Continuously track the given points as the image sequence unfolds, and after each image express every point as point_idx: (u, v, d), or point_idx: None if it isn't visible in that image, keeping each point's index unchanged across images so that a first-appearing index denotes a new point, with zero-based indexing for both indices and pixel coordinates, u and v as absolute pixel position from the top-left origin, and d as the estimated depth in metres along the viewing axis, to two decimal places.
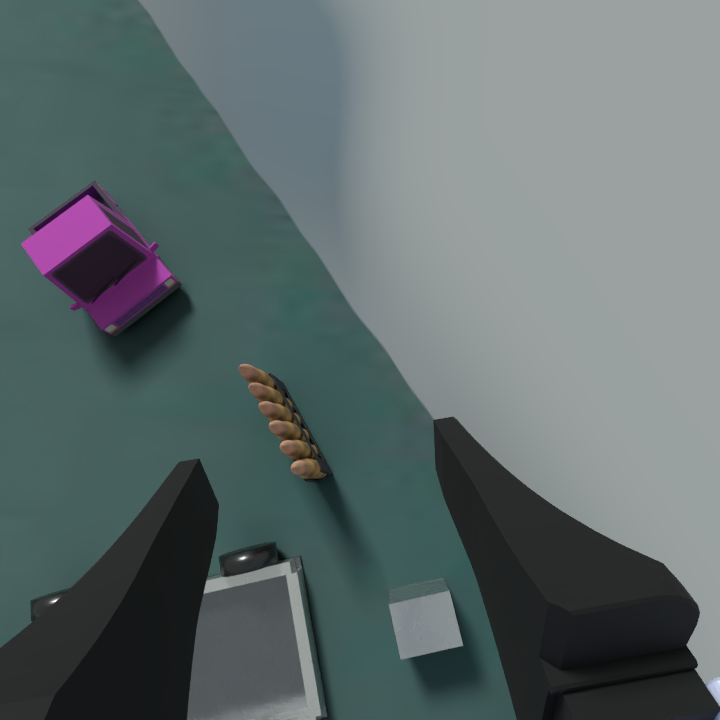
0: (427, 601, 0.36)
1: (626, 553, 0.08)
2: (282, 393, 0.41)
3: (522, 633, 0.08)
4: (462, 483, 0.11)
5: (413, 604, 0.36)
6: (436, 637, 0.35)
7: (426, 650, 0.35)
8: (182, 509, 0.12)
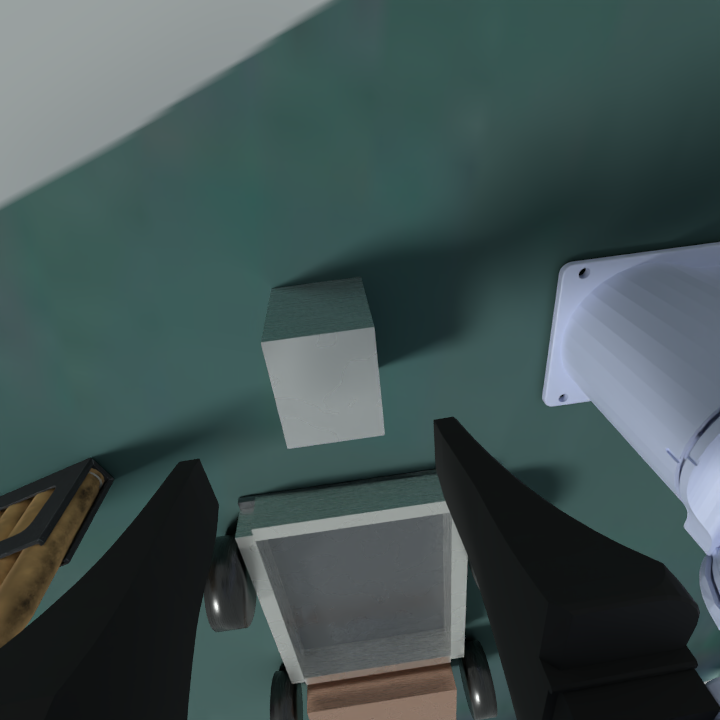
0: (283, 385, 0.17)
1: (626, 553, 0.08)
2: None
3: (522, 633, 0.08)
4: (462, 483, 0.11)
5: (288, 410, 0.17)
6: (352, 375, 0.17)
7: (374, 394, 0.17)
8: (182, 509, 0.12)
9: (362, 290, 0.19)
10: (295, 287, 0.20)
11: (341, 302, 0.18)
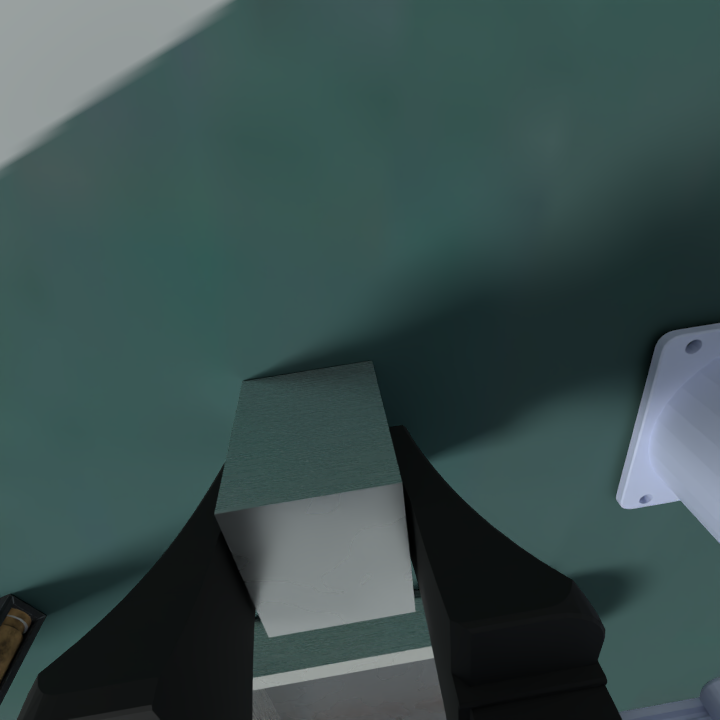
0: (256, 565, 0.10)
1: (539, 568, 0.08)
2: None
3: (442, 647, 0.08)
4: None
5: (267, 594, 0.11)
6: (366, 546, 0.10)
7: (401, 566, 0.11)
8: None
9: (376, 391, 0.12)
10: (277, 381, 0.13)
11: (345, 418, 0.12)
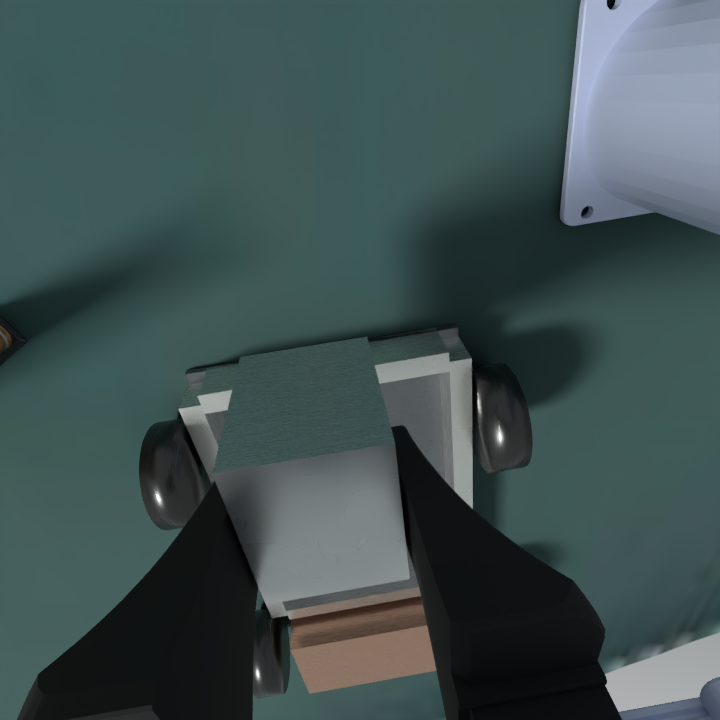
0: (253, 528, 0.11)
1: (539, 568, 0.08)
2: None
3: (442, 647, 0.08)
4: (402, 493, 0.11)
5: (263, 558, 0.11)
6: (360, 509, 0.11)
7: (395, 530, 0.11)
8: None
9: (371, 363, 0.13)
10: (274, 356, 0.14)
11: (340, 388, 0.12)
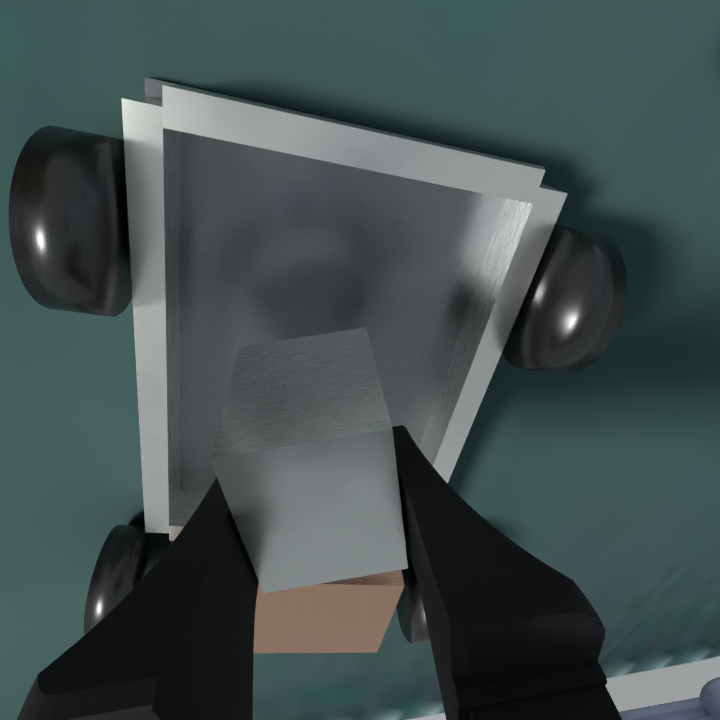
0: (250, 515, 0.11)
1: (539, 568, 0.08)
2: None
3: (442, 647, 0.08)
4: (402, 493, 0.11)
5: (261, 546, 0.11)
6: (358, 496, 0.11)
7: (393, 518, 0.11)
8: None
9: (369, 353, 0.13)
10: (273, 346, 0.14)
11: (338, 377, 0.12)
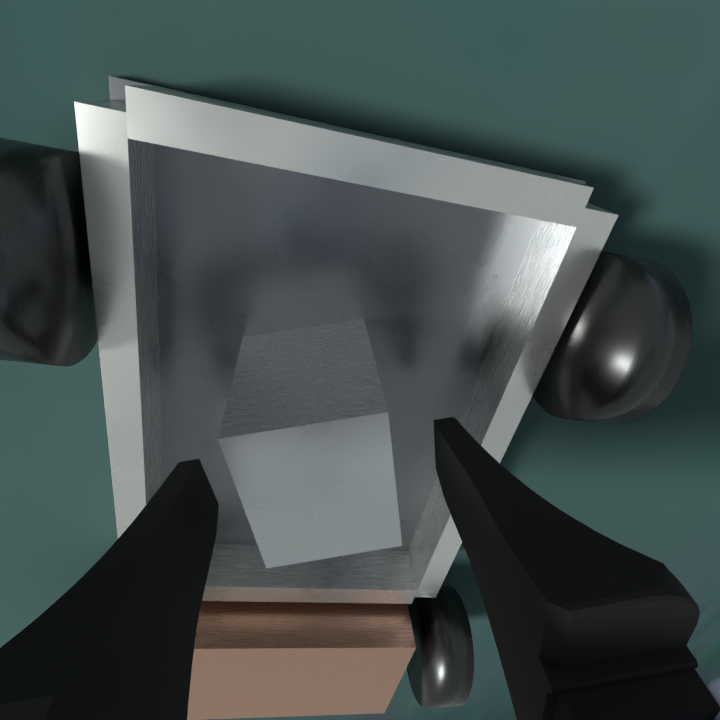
0: (255, 493, 0.11)
1: (626, 553, 0.08)
2: None
3: (522, 633, 0.08)
4: (462, 483, 0.11)
5: (264, 522, 0.12)
6: (356, 475, 0.11)
7: (388, 497, 0.12)
8: (183, 509, 0.12)
9: (367, 343, 0.13)
10: (275, 336, 0.14)
11: (338, 364, 0.13)
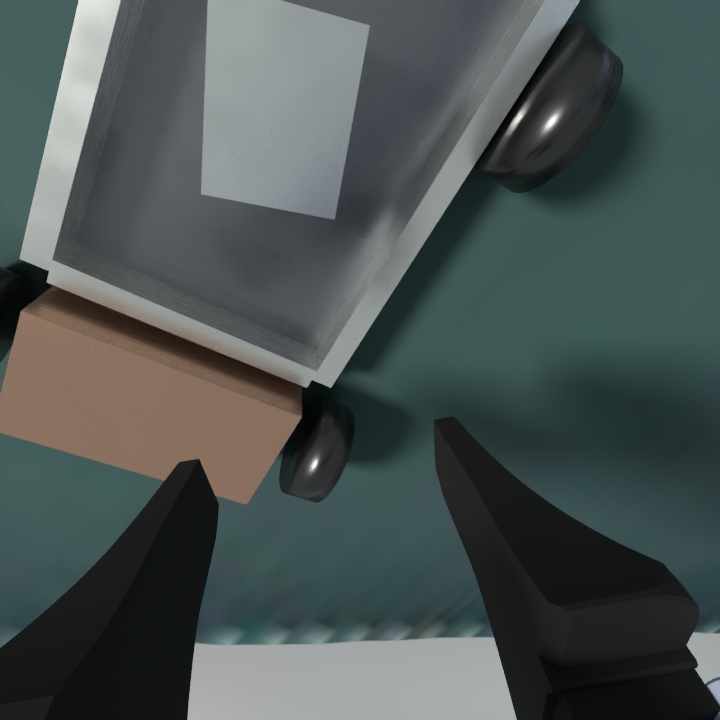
0: (221, 76, 0.12)
1: (626, 553, 0.08)
2: None
3: (522, 633, 0.08)
4: (462, 483, 0.11)
5: (218, 124, 0.12)
6: (319, 99, 0.12)
7: (340, 144, 0.13)
8: (183, 509, 0.12)
9: None
10: None
11: None
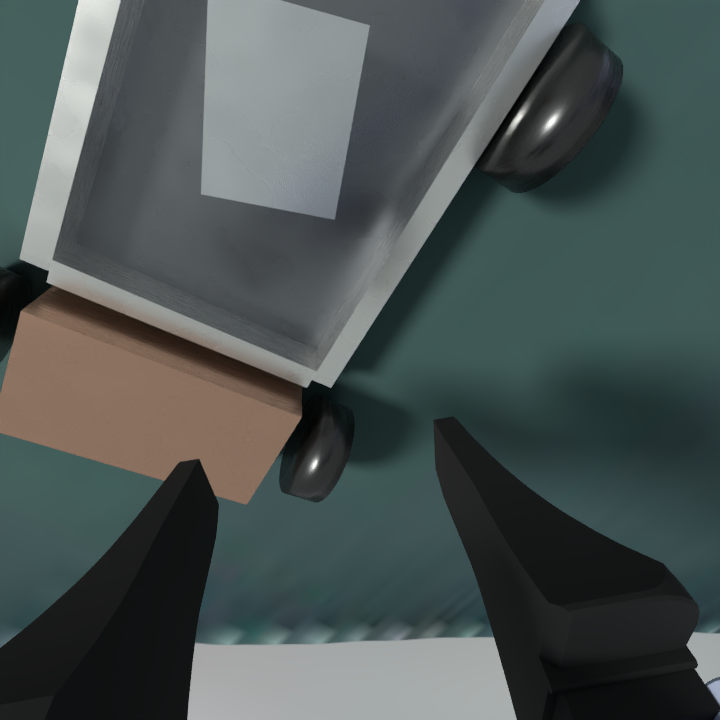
0: (221, 76, 0.12)
1: (626, 553, 0.08)
2: None
3: (522, 633, 0.08)
4: (462, 483, 0.11)
5: (218, 124, 0.12)
6: (319, 99, 0.12)
7: (340, 144, 0.13)
8: (183, 509, 0.12)
9: None
10: None
11: None
